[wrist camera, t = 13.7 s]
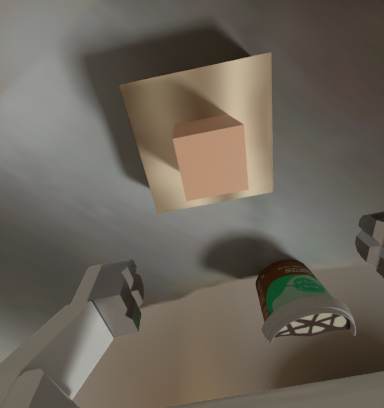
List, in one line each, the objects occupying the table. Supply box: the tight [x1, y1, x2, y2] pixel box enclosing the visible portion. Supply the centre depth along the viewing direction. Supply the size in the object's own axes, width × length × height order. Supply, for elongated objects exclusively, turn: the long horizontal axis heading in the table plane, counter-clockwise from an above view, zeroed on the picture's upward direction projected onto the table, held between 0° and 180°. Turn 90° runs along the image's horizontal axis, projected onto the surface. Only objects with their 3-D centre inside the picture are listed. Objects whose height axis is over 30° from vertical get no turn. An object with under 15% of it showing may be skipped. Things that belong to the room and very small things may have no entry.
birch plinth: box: [119, 52, 273, 213], centre depth 24 cm, size 13×13×5 cm
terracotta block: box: [173, 114, 249, 201], centre depth 19 cm, size 5×5×6 cm
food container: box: [256, 260, 356, 344], centre depth 33 cm, size 12×6×10 cm, turn 95°
